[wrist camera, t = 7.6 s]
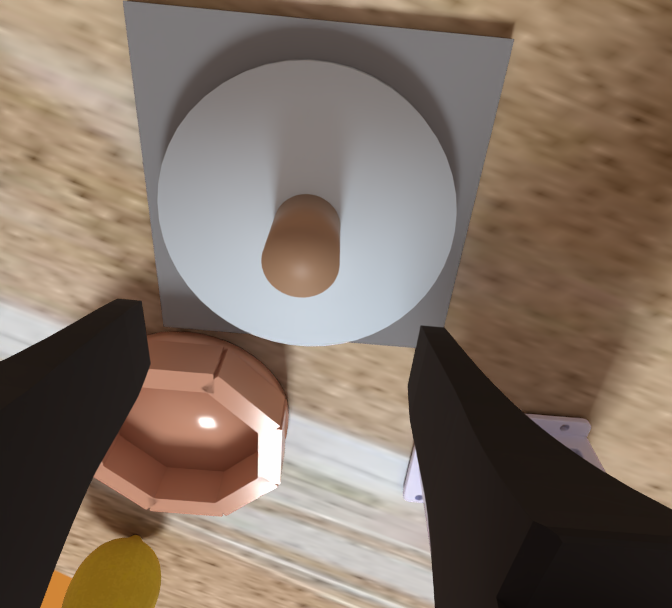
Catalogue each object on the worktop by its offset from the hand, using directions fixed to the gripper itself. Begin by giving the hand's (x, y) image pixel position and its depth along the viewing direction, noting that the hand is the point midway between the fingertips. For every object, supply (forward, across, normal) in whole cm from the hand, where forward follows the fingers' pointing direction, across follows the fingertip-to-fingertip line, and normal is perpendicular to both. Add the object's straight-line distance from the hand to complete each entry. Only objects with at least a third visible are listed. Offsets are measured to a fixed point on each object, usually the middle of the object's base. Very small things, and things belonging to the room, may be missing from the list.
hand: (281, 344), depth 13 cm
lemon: (+10, +11, +26) cm, 30 cm away
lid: (+10, 0, 0) cm, 10 cm away
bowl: (+10, +6, +13) cm, 18 cm away
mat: (+10, 0, 0) cm, 10 cm away
